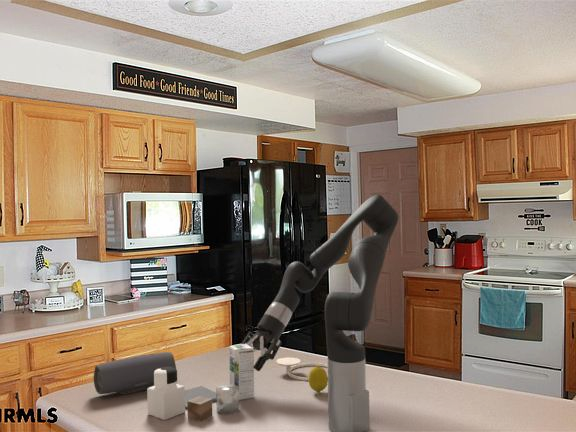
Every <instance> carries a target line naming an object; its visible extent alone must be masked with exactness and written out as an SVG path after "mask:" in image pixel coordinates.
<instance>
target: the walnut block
mask: <svg viewBox="0 0 576 432" xmlns="http://www.w3.org/2000/svg"><path fill="white" fill-rule="evenodd" d="M187 404H188V409H187V418H188V419H190V420H194V421H196V422H197V421H198V422H200V423H201V422H203V421H204V420H207V419H209V418H211V417H213V402H212V399H209V398H205V397H201V396H198V397H196V398H194V399H191V400H189V401H187Z"/></svg>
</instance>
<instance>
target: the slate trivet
mask: <svg viewBox="0 0 576 432" xmlns="http://www.w3.org/2000/svg"><path fill="white" fill-rule="evenodd" d="M198 396H201V397H205V398H209V399H212V403H214V402H216V391H213V390H212V389H209V388H208V387H205V386H202V385H200V386H195V387H192V388H189V389H188V388H187V389H185V410H188V404H187V401H189V400H191V399H194V398H196V397H198Z"/></svg>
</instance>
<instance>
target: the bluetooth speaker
mask: <svg viewBox="0 0 576 432" xmlns="http://www.w3.org/2000/svg"><path fill="white" fill-rule="evenodd" d="M162 367H173V368H175V369H176V370H177V366H176V360H175V358H174V354H173V353H172V352H171V351H168V352H166V351H165V352H156V353H150V354H145V355H144V354H142V355H136V356H131V357H126V358H122V359H117V360H113V361H108V362H104V363H100V364H98V365H95V366H94V370H93V372H94V373H93V385H94V390H95V392H96V393H97V394H99V395H107V394H114V393H118V394H120V395H125V394H126V395H127V394H130V393H131V394H132V393H136V392H140V391H145V390H147V388H149V387H152V386H155V385H154V371H155V370H157V369H159V368H162Z"/></svg>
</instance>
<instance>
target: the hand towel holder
mask: <svg viewBox="0 0 576 432" xmlns="http://www.w3.org/2000/svg"><path fill="white" fill-rule="evenodd" d="M275 362H276V363H277V364H278V365H279V366H282V367H283V366H284V367H286V368H285V374H286V375H287V376H288V377H290V378H291V379H294V380H298V381H302V382H303V381H305V382H309V377H303V376H298V375H294V374H292V373H293V372H292V371H293V370H296V369H298V368H306V367H316V366H320V367H322V368H327V369H328V363H319V362H305V363H301V362H302V361H301V359H299V358H297V357H281V358H278V359H276V360H275ZM327 378H328V376H327Z"/></svg>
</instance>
